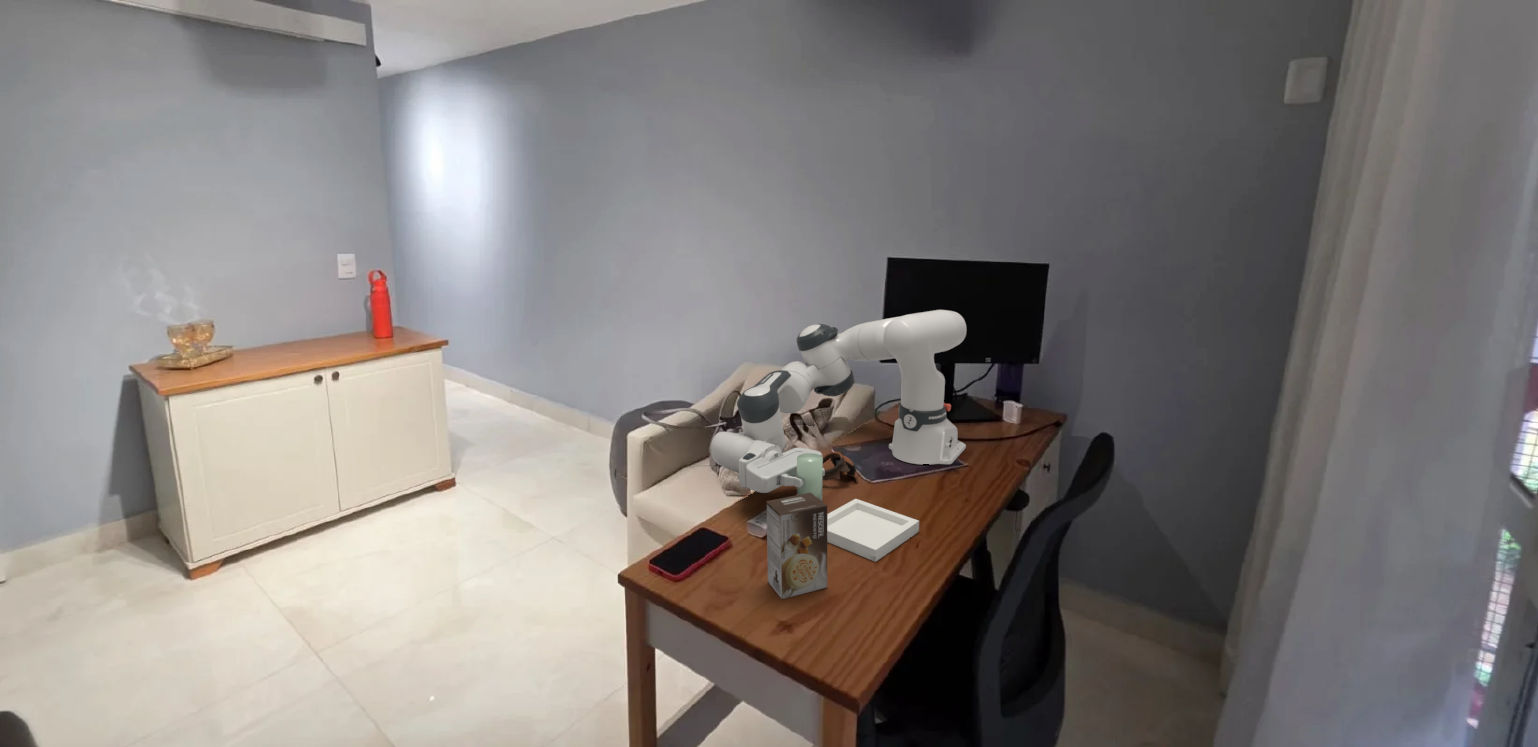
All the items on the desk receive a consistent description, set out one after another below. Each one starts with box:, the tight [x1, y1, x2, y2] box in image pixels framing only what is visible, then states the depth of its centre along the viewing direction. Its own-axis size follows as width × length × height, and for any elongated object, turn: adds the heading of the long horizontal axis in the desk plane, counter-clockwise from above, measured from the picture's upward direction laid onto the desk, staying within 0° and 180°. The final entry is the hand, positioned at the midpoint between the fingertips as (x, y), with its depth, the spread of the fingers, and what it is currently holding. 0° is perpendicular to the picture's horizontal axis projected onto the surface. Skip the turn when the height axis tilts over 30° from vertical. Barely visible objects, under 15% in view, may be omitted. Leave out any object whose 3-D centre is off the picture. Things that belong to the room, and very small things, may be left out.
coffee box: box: [765, 493, 828, 600], centre depth 117 cm, size 9×6×16 cm
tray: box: [827, 498, 920, 562], centre depth 137 cm, size 16×16×2 cm
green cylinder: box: [796, 453, 824, 502], centre depth 144 cm, size 6×6×11 cm
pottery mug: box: [822, 449, 859, 484], centre depth 164 cm, size 12×10×8 cm
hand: (812, 478), depth 143 cm, fingers closed on green cylinder, 5 cm apart
